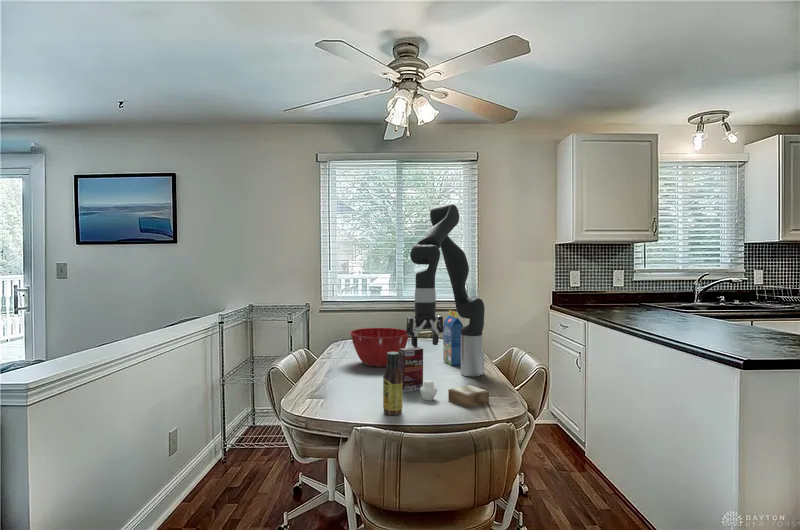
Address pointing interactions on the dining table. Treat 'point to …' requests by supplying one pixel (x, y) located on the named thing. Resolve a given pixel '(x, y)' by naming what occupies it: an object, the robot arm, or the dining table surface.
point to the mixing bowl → (378, 344)
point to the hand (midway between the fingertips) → (425, 345)
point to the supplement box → (411, 368)
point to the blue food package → (452, 339)
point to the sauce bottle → (392, 385)
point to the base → (468, 396)
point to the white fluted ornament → (428, 390)
